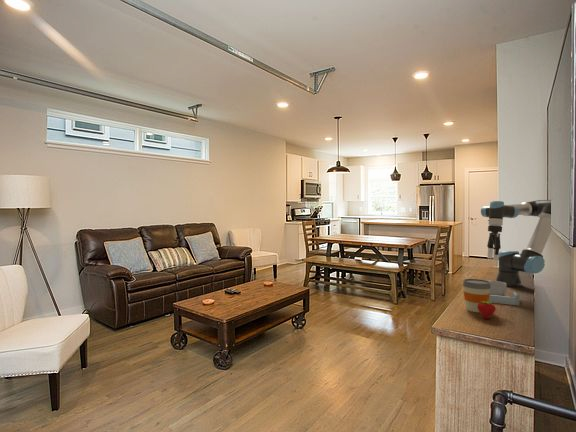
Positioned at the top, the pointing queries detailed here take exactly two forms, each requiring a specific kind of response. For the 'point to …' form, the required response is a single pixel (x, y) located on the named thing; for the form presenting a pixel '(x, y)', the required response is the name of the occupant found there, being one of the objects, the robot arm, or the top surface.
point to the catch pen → (505, 299)
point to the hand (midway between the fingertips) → (492, 259)
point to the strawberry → (486, 309)
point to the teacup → (497, 288)
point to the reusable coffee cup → (475, 293)
